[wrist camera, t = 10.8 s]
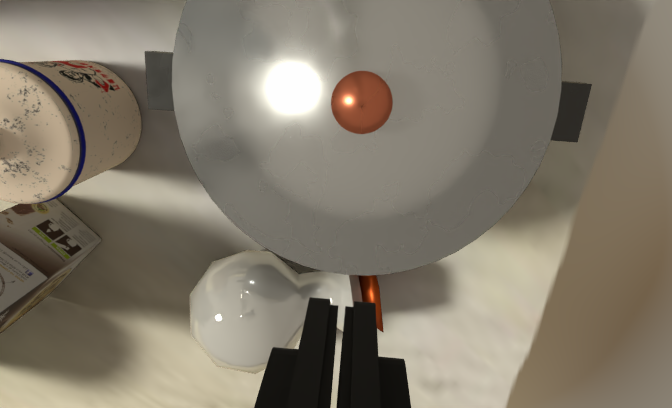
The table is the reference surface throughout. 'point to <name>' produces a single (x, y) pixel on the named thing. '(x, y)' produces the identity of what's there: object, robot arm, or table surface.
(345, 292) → the potion bottle
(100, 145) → the teacup with lid
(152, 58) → the pot
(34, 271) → the coffee box
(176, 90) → the lid
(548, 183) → the table surface
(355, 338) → the robot arm
